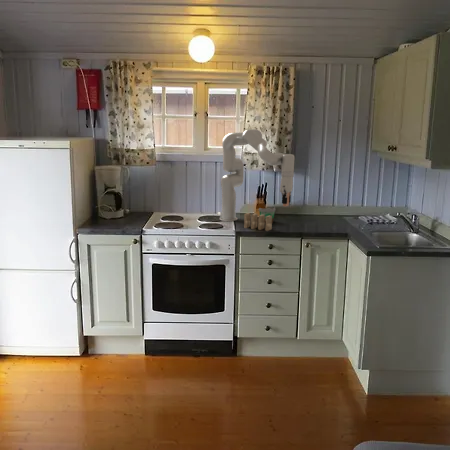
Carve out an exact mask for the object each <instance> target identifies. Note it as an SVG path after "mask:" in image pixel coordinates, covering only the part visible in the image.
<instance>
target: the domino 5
mask: <svg viewBox="0 0 450 450" xmlns="http://www.w3.org/2000/svg"><path fill="white" fill-rule="evenodd" d="M284 194H285V193H284ZM285 195H286V194H285ZM289 195H290V192H288V193H287V204H282V207H288V206H290V203H289Z"/></svg>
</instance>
